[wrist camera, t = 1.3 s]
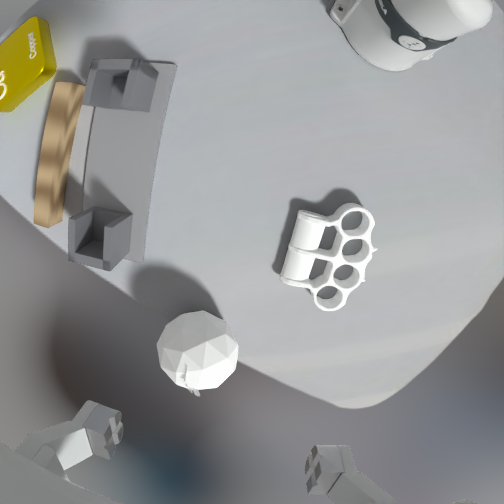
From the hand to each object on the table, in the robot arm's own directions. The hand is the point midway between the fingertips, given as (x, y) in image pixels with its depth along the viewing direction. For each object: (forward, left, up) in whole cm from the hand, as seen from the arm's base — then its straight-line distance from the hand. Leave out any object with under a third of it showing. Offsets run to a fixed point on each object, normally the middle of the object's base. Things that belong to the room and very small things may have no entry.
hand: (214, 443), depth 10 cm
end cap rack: (-5, -21, -38) cm, 43 cm away
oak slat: (-5, -33, -38) cm, 50 cm away
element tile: (-22, -48, -38) cm, 65 cm away
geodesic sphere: (+22, -3, -38) cm, 44 cm away
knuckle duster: (+3, +15, -38) cm, 41 cm away
